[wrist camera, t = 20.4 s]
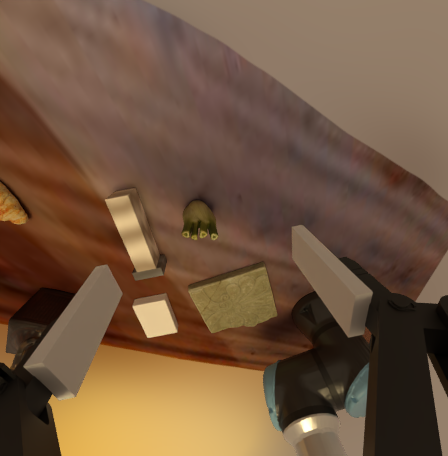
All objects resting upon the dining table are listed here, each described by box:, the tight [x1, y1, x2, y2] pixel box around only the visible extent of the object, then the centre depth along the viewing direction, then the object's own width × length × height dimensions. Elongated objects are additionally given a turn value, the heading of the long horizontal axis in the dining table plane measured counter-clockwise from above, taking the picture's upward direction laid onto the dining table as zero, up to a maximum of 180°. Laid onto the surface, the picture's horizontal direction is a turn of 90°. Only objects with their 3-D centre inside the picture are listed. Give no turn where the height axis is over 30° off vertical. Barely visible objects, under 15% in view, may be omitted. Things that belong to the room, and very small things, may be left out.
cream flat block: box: [132, 293, 178, 338], centre depth 54 cm, size 3×8×12 cm
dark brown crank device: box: [6, 288, 76, 371], centre depth 42 cm, size 16×11×18 cm
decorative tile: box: [188, 262, 277, 333], centre depth 55 cm, size 19×20×4 cm
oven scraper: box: [105, 188, 167, 280], centre depth 42 cm, size 18×6×5 cm, turn 9°
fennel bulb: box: [182, 200, 218, 240], centre depth 38 cm, size 6×5×12 cm
